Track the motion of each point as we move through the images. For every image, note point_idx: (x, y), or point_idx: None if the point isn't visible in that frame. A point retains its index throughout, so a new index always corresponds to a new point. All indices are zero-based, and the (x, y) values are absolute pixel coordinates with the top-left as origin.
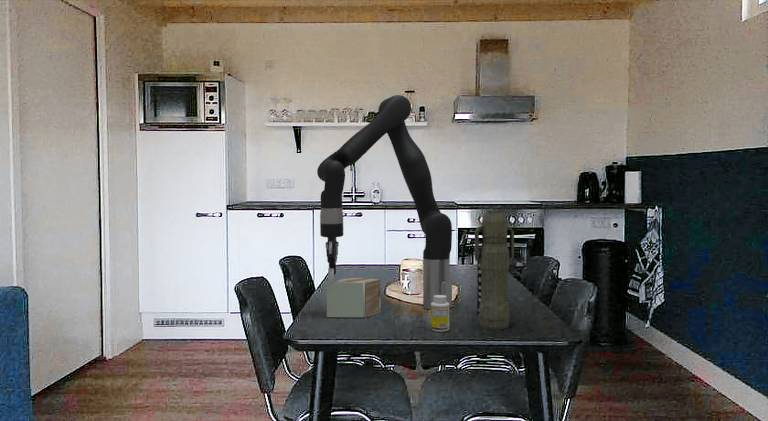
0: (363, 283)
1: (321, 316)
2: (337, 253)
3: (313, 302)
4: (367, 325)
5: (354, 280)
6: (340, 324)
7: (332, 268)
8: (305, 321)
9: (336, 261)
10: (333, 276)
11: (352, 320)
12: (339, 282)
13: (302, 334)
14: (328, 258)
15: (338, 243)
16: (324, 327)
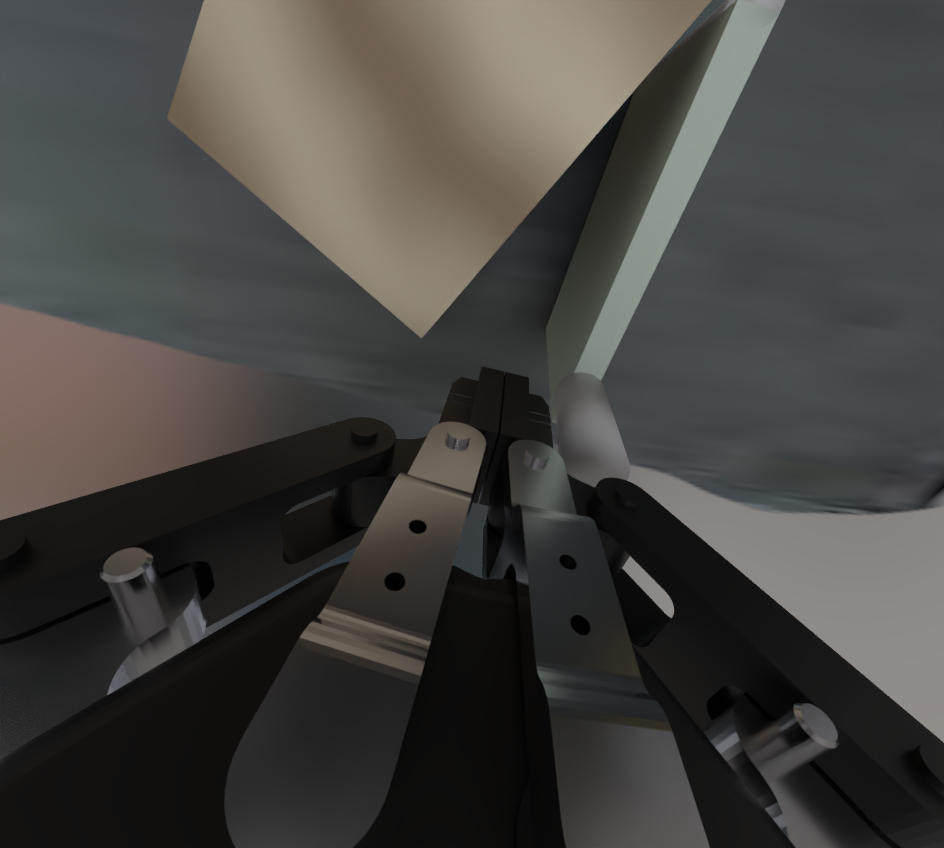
0: (782, 3)
1: (512, 352)
2: (466, 512)
3: (168, 343)
4: (893, 100)
5: (408, 106)
6: (752, 284)
7: (582, 453)
8: None
9: (469, 432)
10: (604, 403)
11: None
12: (606, 323)
13: (855, 475)
14: (659, 612)
15: (293, 748)
16: (775, 373)
